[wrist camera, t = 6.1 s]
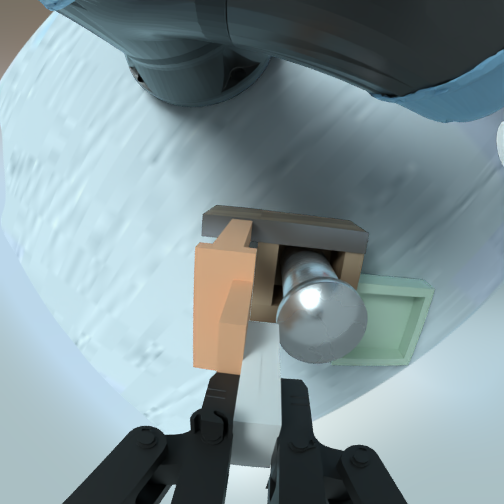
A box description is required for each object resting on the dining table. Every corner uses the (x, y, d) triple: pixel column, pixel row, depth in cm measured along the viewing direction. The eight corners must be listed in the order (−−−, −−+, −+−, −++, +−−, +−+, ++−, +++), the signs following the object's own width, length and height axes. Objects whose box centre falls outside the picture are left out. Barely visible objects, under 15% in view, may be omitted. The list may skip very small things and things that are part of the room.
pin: (277, 230, 29) (283, 278, 16) (333, 237, 29) (377, 287, 16) (271, 284, 30) (270, 360, 18) (324, 289, 30) (354, 364, 18)
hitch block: (216, 205, 29) (202, 214, 23) (350, 220, 29) (369, 232, 23) (211, 288, 32) (198, 315, 26) (335, 301, 31) (347, 329, 25)
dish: (345, 272, 30) (352, 282, 28) (423, 279, 30) (434, 289, 27) (327, 350, 33) (331, 365, 30) (399, 351, 33) (408, 365, 30)
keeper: (223, 217, 23) (165, 278, 10) (261, 221, 23) (249, 289, 10) (217, 303, 25) (174, 418, 12) (252, 307, 25) (235, 428, 12)
